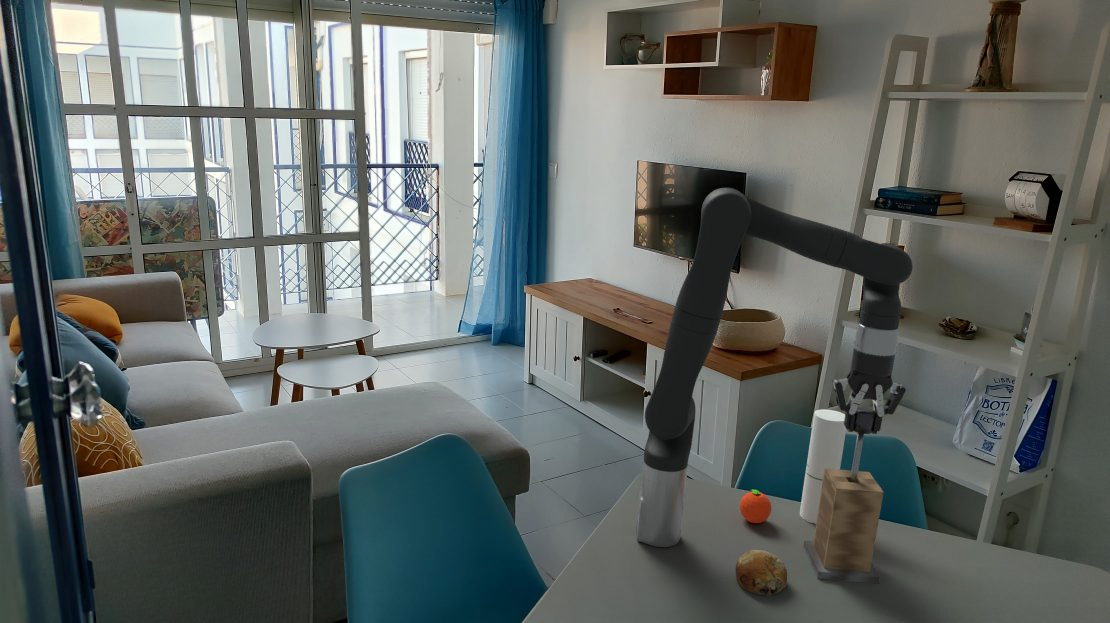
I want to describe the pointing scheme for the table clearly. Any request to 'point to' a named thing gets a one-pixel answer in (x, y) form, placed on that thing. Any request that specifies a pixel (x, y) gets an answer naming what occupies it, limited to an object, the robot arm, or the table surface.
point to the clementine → (755, 507)
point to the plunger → (861, 435)
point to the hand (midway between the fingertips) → (861, 431)
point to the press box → (846, 527)
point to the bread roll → (761, 572)
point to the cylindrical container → (821, 458)
